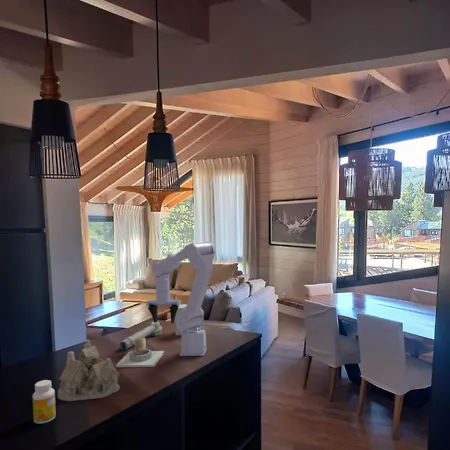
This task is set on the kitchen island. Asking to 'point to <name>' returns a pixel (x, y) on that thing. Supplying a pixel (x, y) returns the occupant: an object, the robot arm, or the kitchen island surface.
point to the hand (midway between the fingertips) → (164, 322)
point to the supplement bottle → (44, 402)
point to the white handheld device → (141, 335)
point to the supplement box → (177, 316)
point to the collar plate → (140, 364)
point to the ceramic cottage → (87, 376)
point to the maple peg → (140, 346)
